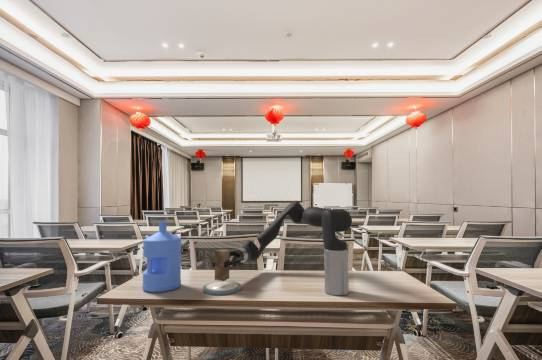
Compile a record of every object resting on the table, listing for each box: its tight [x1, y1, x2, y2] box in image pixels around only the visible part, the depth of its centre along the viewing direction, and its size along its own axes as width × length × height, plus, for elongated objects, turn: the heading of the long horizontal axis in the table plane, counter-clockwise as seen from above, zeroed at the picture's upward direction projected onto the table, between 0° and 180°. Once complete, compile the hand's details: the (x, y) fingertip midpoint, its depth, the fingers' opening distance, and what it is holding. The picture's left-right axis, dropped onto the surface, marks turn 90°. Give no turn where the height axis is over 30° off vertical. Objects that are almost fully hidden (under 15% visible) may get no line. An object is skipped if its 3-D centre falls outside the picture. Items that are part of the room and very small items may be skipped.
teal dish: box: [202, 280, 242, 296], centre depth 126 cm, size 16×16×1 cm
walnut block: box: [214, 248, 230, 281], centre depth 126 cm, size 4×4×12 cm
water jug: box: [141, 221, 182, 293], centre depth 129 cm, size 16×16×28 cm
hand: (219, 264), depth 124 cm, fingers closed on walnut block, 4 cm apart
